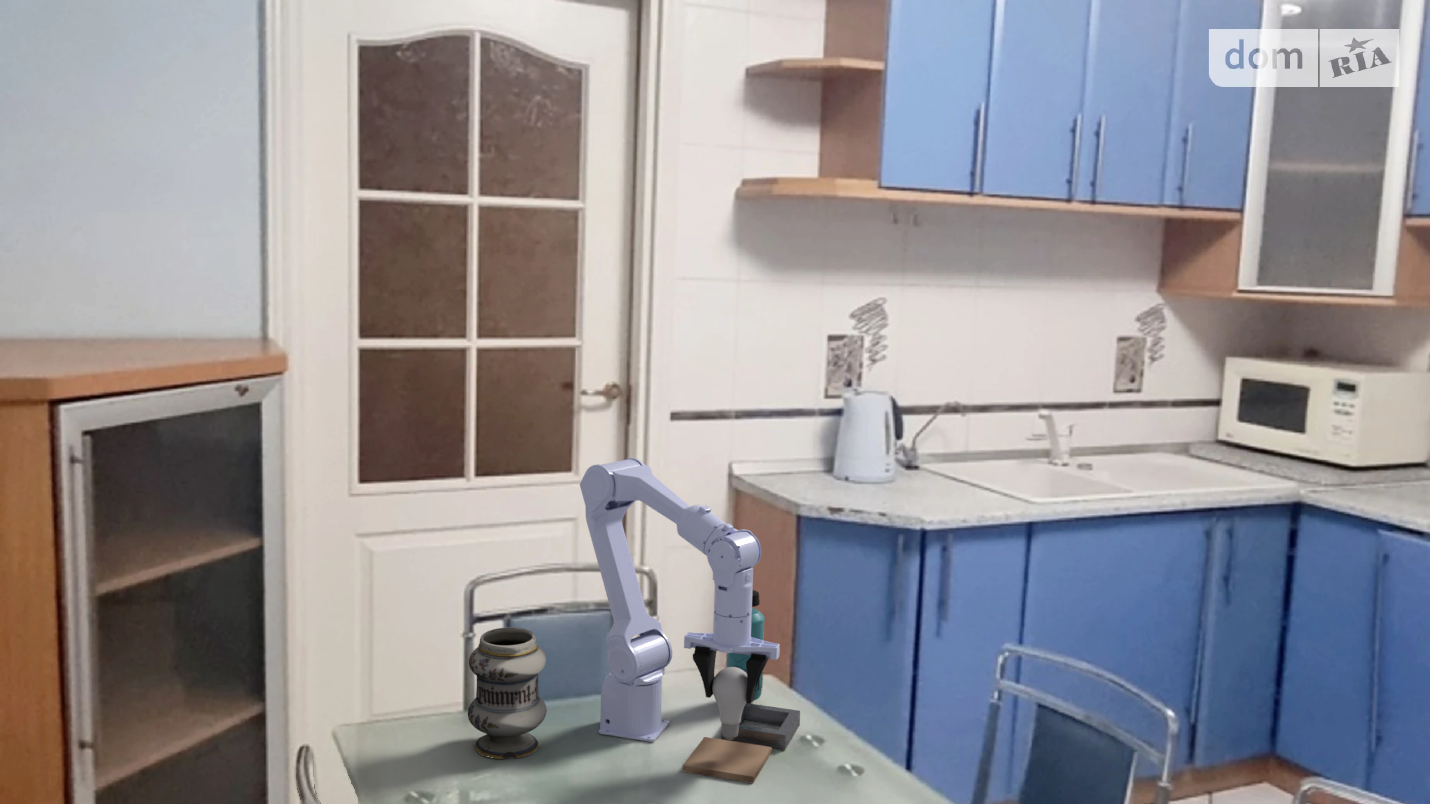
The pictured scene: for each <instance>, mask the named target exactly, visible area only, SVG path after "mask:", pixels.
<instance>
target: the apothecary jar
mask: <svg viewBox="0 0 1430 804" xmlns="http://www.w3.org/2000/svg"><path fill="white" fill-rule="evenodd" d="M546 662H547V656H546V653H545V651H544V650H543V649H542V647H540V646H539V645H538V644H537V641H536V635H535V633H534V632H532V631H531V630H529V629H527V628H525V627H524V628H523V627H512V626H511V627H510V626H509V627H507V626H506V627H498V628H494V629H490V630H487V631H486V632H483V634H481V636H480V639H479V643H478V646H477V647H476V648H475V649H474V650H473V651H472V652H471V654H470V655H469V659H468V666H469V669H470V671H471V672H472V673H473V674H474V675H475V676H476V689H475V690H476V692H475V694H476V695H475V698H474V699H473V700H472V701H471V703H470V704H469V706H468V709H467V718H468V721H469V723H470V724H471V725H472V726H473V727H474V728H475V729H476V730H478V731H479V732H481V733H484V735H482V736H481V737H479V738H478V739H476V741H475V743H474V750H475V751H476V750H477V751H476V752H477V753H478V754H479V753H480V754H479V755H481V754H482V755H484V756H483V757H485V756H489V757H493V758H498V759H497V760H505V759H504V758H507V759H510V757H511V758H512V757H514V758H513V759H519V758H520V757H521V758H524V757H527V756H530V755H531V754H533V753H534V752H536V751H537V750H538V748H539V744H540V743H539V740H538V739H537V738H536V736H534V735H533V734H531V733H530V732H531V731H534V730H535V729H537V728H538V727H539V726H540V725H541V724H542V722H544V720H545V719H546V716H547V705H546V702H545V701H544V699H543V698H542V697H541V696H540V693H539V673H540V672H542V671H543V670H544V668H545V666H546ZM482 755H481V756H482ZM523 756H524V757H523ZM493 758H492V759H493Z"/></svg>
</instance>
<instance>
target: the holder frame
mask: <svg viewBox="0 0 1430 804" xmlns="http://www.w3.org/2000/svg"><path fill="white" fill-rule="evenodd" d="M745 722H750V723H758V724H763V725H764V724H765V725H771V726H776V727H777V726H778V727H779V729H778V730H777V729H773V728H772V729H771V728H767V727H766V728H765V727H759V726H754V725H753V726H752V725H745V724H744V723H745ZM800 725H801V710H797V709H790V708H784V707H778V706H777V707H775V706H769V705H763V704H757V703H751V704H750V703H746V704H745V706H744V709H743V711H742V715H741V722H740V723H739V730H738V736H737V737H735V738H733V740H728V741H735V742H741V743H748V744H754V745H761V746H767V747H772V749H773V750H774V749H775V750H779V751H780V750H781V751H785V750H786V749H787V748H788V746H789V745H790V743H791V741H792V739H793V738H794V735H796V732H797V731H798V729H799V727H800ZM721 727H722V725H721ZM721 730H722V728H721V729H720V731H721ZM720 739H722V740H727V739H726V738H725V737H724V736H722V731H721V732H720Z"/></svg>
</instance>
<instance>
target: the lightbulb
mask: <svg viewBox="0 0 1430 804" xmlns="http://www.w3.org/2000/svg"><path fill="white" fill-rule="evenodd" d="M726 667H727V666H726ZM726 667H725V668H723V669H721V670H719V671H718V672H717V673H716V675H714V680H713V683H712V691H713V695H712V696H713V697H714V699H715V702H716V704H717V707H718V710H719V715H720V716H719V720H720V723H721V726H722V727H721V728H722V730H721V729H720V731H722V736H724V737H725V738H726V739H727V740H733V738H735V737H737V736H738V730H739V723H740V722H741V715H742V711H743V709H744V706H745V704H746V694H747V673H746V672H744V671H743V670H742V669H740V668H737V667H727V668H726Z"/></svg>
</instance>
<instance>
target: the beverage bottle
mask: <svg viewBox="0 0 1430 804" xmlns="http://www.w3.org/2000/svg"><path fill="white" fill-rule="evenodd" d="M760 601H761V600H760V593H759V591H757V590H755V589H753V590H752V617H751V637H752V638H756V639H760V640H763V641H765V640H764V638H765V636H764V635H765V621H766V619H765V616H764V614H763V613H762V612H761V611H760V610H759V609H757V608H755V607H758V606H759V605H760ZM725 656H726V658H725V659H726V666H725V668H727V667H737V668H740V669H742V670H743V671H744V672H746V673H747V668H746V661H747V660H748V659H749V658H750V657H751V655H745V654H737V653H726V655H725ZM763 674H764V671H762V673H761V676H760V678H759V681H758V684H757V688H756V692H755V697H754V700H753V702H755V701H756V700H759V699H760V698H761V695H762V692H763V687H764V684H763V683H764V682H763V681H764V676H763Z"/></svg>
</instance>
